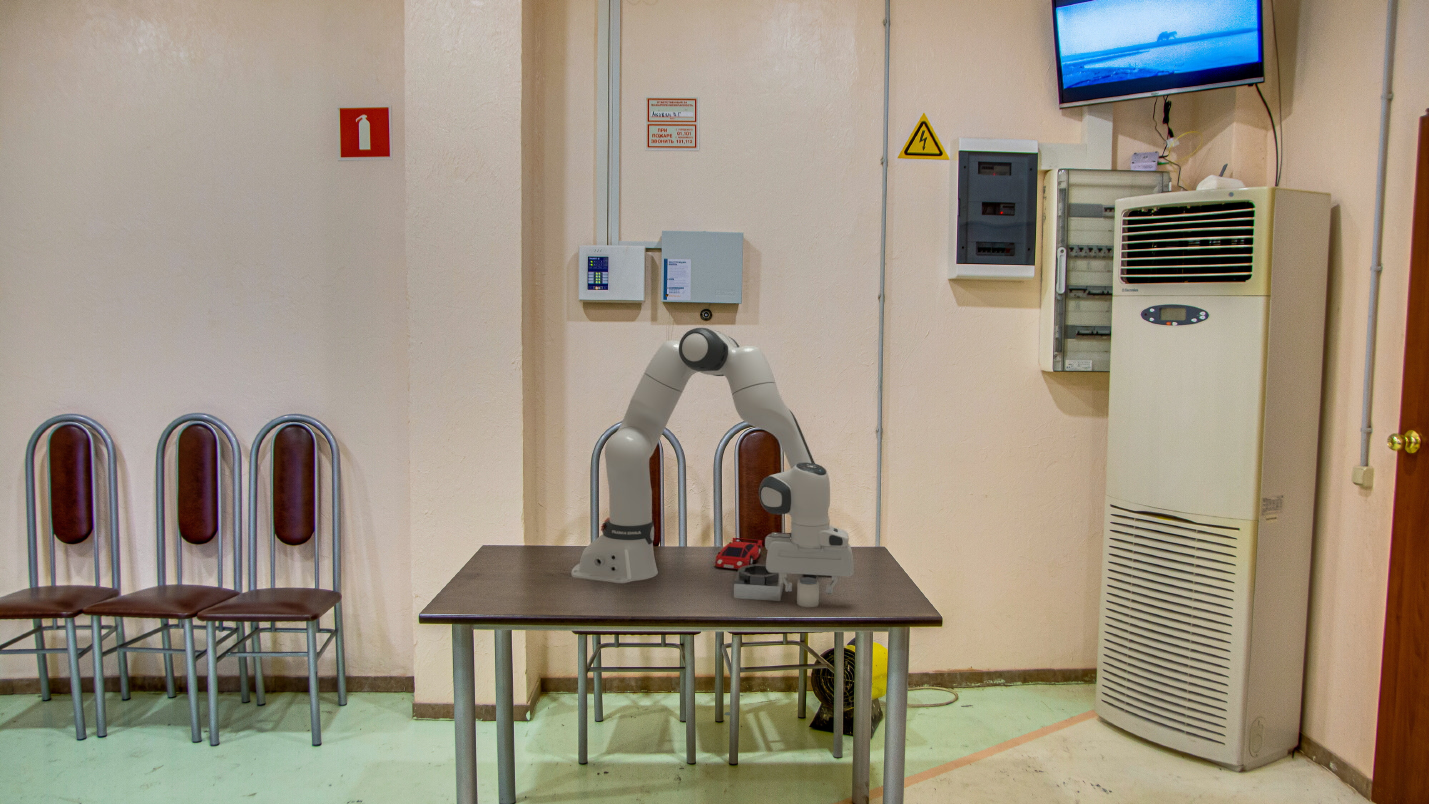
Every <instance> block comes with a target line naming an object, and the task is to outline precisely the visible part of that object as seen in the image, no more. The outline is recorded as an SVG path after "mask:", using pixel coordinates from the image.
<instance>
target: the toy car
mask: <svg viewBox="0 0 1429 804" xmlns="http://www.w3.org/2000/svg"><path fill="white" fill-rule="evenodd" d="M731 541H732V542H731ZM731 541H730V542H728V543H727V544H725V546H724V547H723V548H722V549H721V550H720V551H719V552H718V553H717V555H716V557H715V562H714V564H715V565H714V566H716V567H719V568H724V569H725V568H726V569H732V570H733V569H735V570H739V568H741V567H743V566H747V565H752V564H753V563H754V561H756V560H757V559H758V558H759V557H761V554H762V550H763V544H762V543H763V540H762V539H753V538H741V537H732V540H731ZM753 565H754V564H753Z"/></svg>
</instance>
